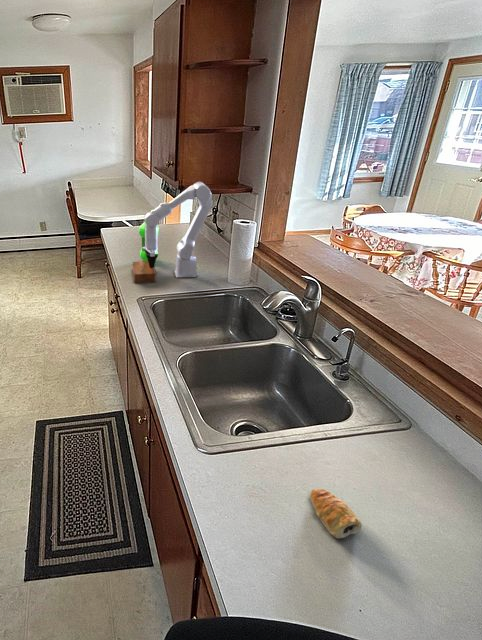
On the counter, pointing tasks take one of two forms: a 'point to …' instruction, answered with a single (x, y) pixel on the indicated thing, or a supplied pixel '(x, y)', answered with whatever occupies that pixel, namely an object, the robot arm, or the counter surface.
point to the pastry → (334, 514)
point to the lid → (143, 268)
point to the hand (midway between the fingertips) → (151, 265)
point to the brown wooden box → (143, 278)
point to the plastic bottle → (142, 234)
